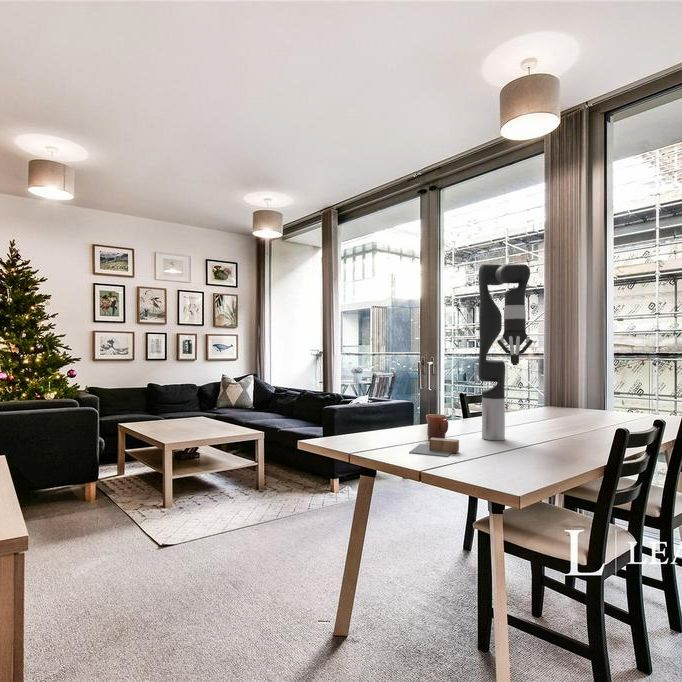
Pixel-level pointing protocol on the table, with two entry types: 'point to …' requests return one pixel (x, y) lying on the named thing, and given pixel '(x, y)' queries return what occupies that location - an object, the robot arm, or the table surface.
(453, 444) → the walnut block
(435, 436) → the mug
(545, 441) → the table surface
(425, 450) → the mat
